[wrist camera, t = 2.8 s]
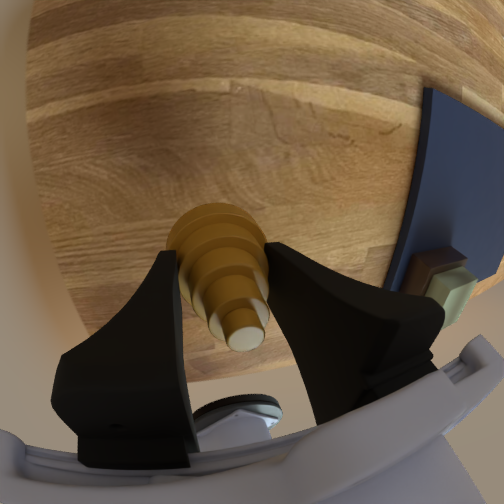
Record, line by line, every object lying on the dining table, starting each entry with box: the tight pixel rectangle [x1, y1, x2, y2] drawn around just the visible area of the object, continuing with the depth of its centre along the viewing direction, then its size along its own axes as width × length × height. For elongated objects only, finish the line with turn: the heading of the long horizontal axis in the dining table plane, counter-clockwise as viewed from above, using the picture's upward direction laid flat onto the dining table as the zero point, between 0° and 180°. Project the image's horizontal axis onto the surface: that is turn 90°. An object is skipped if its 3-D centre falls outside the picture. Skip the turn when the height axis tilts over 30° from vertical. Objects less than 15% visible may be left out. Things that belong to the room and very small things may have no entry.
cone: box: [166, 203, 270, 352], centre depth 10 cm, size 4×4×6 cm
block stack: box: [399, 246, 478, 330], centre depth 22 cm, size 7×7×5 cm
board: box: [383, 87, 504, 292], centre depth 24 cm, size 30×22×1 cm
